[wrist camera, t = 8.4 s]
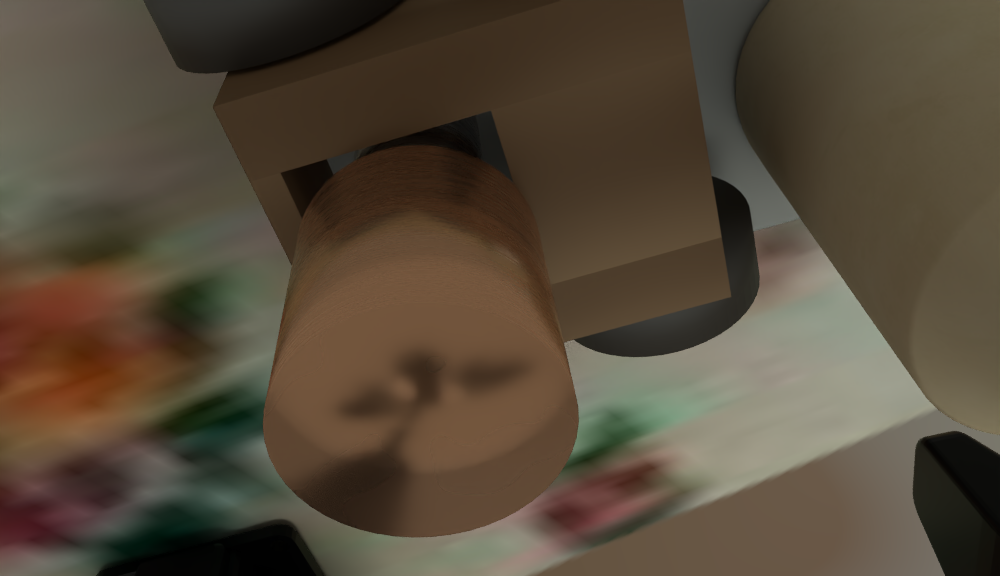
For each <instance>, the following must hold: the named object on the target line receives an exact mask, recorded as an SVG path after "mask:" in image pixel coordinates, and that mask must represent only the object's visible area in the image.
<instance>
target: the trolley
mask: <svg viewBox="0 0 1000 576" xmlns="http://www.w3.org/2000/svg"><path fill="white" fill-rule="evenodd" d="M143 1H144V3H145V5H146V7H147V8H148V10H149V12H150V14H151V16H152V18H153V20H154V22H155V24H156V26H157V28H158V30H159V32H160V34H161V36H162V38H163V40H164V42H165V44H166V46H167V48H168V50H169V52H170V54H171V56H172V57H173V59H174V61H175V63H176V65H177V66H178V67H179V68H180V69H182V70H184V71H187V72H193V73H220V72H228V73H227V76H226V78H225V80H224V83H223V85H222V87H221V89H220V92H219V94H218V96H217V98H216V101H215V103H214V105H213V109H214V111H215V113H216V115H217V117H218V119H219V121H220V123H221V125H222V127H223V129H224V131H225V133H226V135H227V137H228V139H229V141H230V143H231V145H232V147H233V149H234V151H235V153H236V155H237V157H238V159H239V161H240V163H241V165H242V167H243V169H244V171H245V173H246V175H247V177H248V179H249V181H250V183H251V185H252V187H253V189H254V191H255V193H256V195H257V197H258V199H259V201H260V203H261V205H262V207H263V209H264V211H265V213H266V215H267V217H268V219H269V221H270V223H271V225H272V227H273V229H274V231H275V233H276V235H277V237H278V239H279V241H280V243H281V245H282V247H283V249H284V251H285V253H286V255H287V257H288V259H289V261H290V263H291V265H292V264H293V258H294V253H295V248H296V243H297V238H298V233H299V229H300V225H301V221H302V218H303V216H304V213H305V211H306V208H307V207H308V205H309V203H310V202H311V200H312V198H313V197H314V195H315V194H316V193H317V191H318V190H319V189H320V188H321V187H322V185H323V184H324V183H325V182H326V181H327V180H328V179H330V178H331V177H332V176H333V172H332V170H331V168H330V166H329V163H328V161H327V159H329V158H332V157H336V156H339V155H342V154H346V153H349V152H353V151H356V150H359V149H363V148H366V147H369V146H373V145H376V144H380V143H383V142H386V141H390V140H393V139H396V138H400V137H403V136H407V135H410V134H413V133H417V132H420V131H423V130H427V129H430V128H434V127H437V126H440V125H444V124H447V123H450V122H454V121H457V120H461V119H464V118H467V117H471V116H474V115H477V114H481V113H484V112H487V111H491V112H492V116H493V119H494V122H495V125H496V128H497V132H498V135H499V138H500V141H501V145H502V148H503V151H504V154H505V158H506V161H507V164H508V167H509V171H510V174H511V177H512V180H513V184H514V185H516V187H517V188H518V189H519V191H520V192H521V193H522V194H523V196H524V197H525V199H526V200H527V202H528V204H529V206H530V207H531V209H532V212H533V214H534V217H535V220H536V222H537V226H538V231H539V235H540V240H541V244H542V248H543V253H544V257H545V262H546V266H547V271H548V275H549V279H550V284H551V288H552V293H553V297H554V302H555V306H556V310H557V315H558V319H559V324H560V328H561V333H562V337H563V341H564V342H567V341H570V340H575V341H576V342H578V343H579V344H581V345H583V346H585V347H587V348H589V349H592V350H595V351H597V352H601V353H605V354H609V355H616V356H624V357H647V356H657V355H664V354H669V353H673V352H678V351H682V350H685V349H688V348H691V347H694V346H696V345H699V344H701V343H704V342H706V341H708V340H710V339H712V338H714V337H716V336H718V335H719V334H721V333H722V332H724V331H725V330H727V329H728V328H730V327H731V326H732V325H733V324H735V323H736V322H737V321H738V320H739V319H740V318H741V317H742V316H743V315H744V314H745V313H746V312H747V311H748V309H749V308H750V306H751V305H752V303H753V301H754V299H755V297H756V295H757V292H758V288H759V277H760V276H759V269H758V262H757V255H756V248H755V240H754V233H753V226H752V219H751V212H750V207H749V204H748V202H747V200H746V198H745V197H744V195H743V194H742V193H741V192H740V191H739V190H738V189H737V188H736V187H734V186H733V185H731V184H730V183H728V182H726V181H724V180H722V179H719V178H717V177H714V176H712V175H711V169H710V163H709V157H708V151H707V145H706V139H705V132H704V126H703V120H702V114H701V108H700V102H699V96H698V90H697V84H696V77H695V71H694V65H693V59H692V53H691V47H690V41H689V35H688V29H687V22H686V16H685V10H684V4H683V0H143Z"/></svg>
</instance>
